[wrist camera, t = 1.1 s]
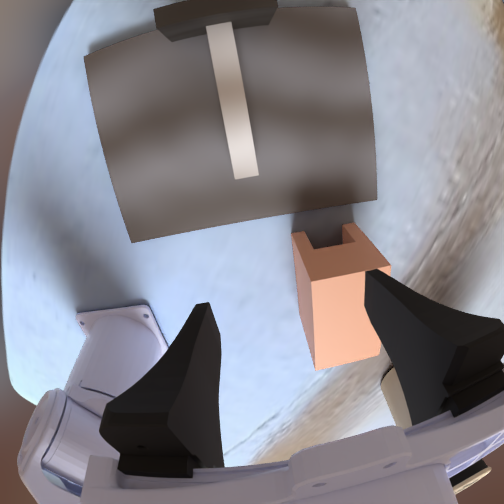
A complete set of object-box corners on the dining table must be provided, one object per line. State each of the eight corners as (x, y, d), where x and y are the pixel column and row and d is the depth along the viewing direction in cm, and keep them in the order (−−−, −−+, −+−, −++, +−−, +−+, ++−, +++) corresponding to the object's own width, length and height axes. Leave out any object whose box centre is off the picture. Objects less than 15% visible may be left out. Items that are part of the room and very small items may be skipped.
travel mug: (423, 383, 34) (471, 485, 19) (374, 397, 34) (415, 513, 18) (441, 344, 31) (506, 458, 15) (387, 359, 30) (446, 494, 15)
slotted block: (353, 303, 26) (379, 355, 20) (299, 314, 26) (315, 370, 20) (354, 222, 22) (391, 265, 17) (290, 233, 22) (311, 281, 17)
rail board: (371, 195, 21) (403, 221, 17) (135, 237, 22) (114, 272, 17) (350, 11, 15) (381, -9, 10) (89, 57, 15) (53, 50, 11)
